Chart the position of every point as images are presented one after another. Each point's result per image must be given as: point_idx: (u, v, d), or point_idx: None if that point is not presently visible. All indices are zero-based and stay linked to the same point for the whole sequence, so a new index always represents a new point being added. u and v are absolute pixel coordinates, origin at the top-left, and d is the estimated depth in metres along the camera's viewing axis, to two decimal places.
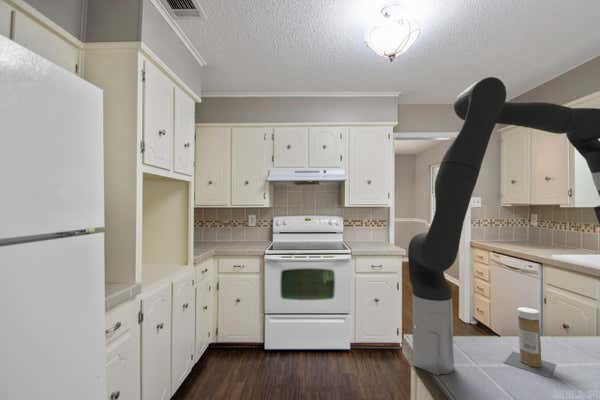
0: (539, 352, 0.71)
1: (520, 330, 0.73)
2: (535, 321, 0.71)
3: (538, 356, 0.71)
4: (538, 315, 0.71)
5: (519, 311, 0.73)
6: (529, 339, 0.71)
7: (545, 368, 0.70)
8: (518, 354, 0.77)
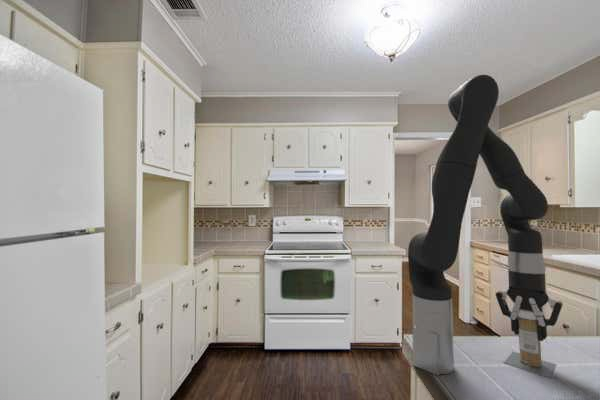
0: (539, 352, 0.71)
1: (520, 330, 0.73)
2: (534, 321, 0.71)
3: (538, 355, 0.71)
4: None
5: (518, 311, 0.73)
6: (528, 339, 0.71)
7: (545, 368, 0.70)
8: (518, 354, 0.77)
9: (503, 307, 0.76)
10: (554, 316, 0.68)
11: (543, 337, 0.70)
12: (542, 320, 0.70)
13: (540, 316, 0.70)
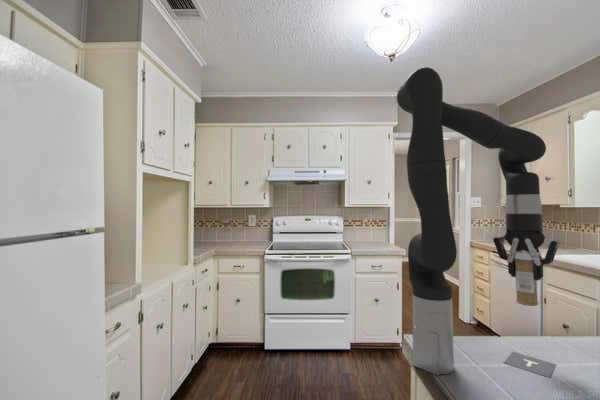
0: (535, 292, 0.72)
1: (516, 272, 0.74)
2: (531, 261, 0.72)
3: (533, 295, 0.72)
4: None
5: (515, 253, 0.75)
6: (524, 279, 0.72)
7: (545, 368, 0.70)
8: (518, 354, 0.77)
9: (500, 251, 0.77)
10: (549, 254, 0.69)
11: (539, 276, 0.71)
12: (538, 259, 0.71)
13: (536, 256, 0.71)
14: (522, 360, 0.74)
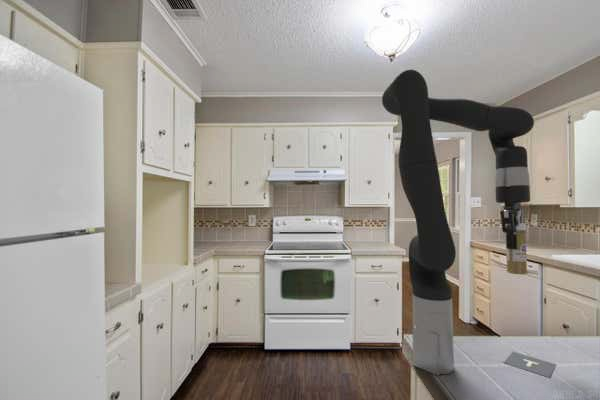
0: (511, 260, 0.75)
1: None
2: None
3: (509, 263, 0.76)
4: (510, 226, 0.76)
5: None
6: (506, 248, 0.78)
7: (545, 368, 0.70)
8: (518, 354, 0.77)
9: None
10: None
11: None
12: None
13: None
14: (522, 360, 0.74)
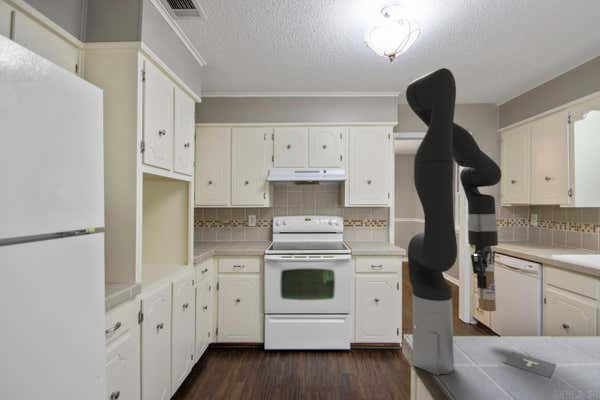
0: (481, 298, 0.84)
1: None
2: None
3: (480, 300, 0.84)
4: None
5: None
6: None
7: (545, 368, 0.70)
8: (518, 354, 0.77)
9: None
10: None
11: None
12: None
13: (475, 266, 0.84)
14: (522, 360, 0.74)
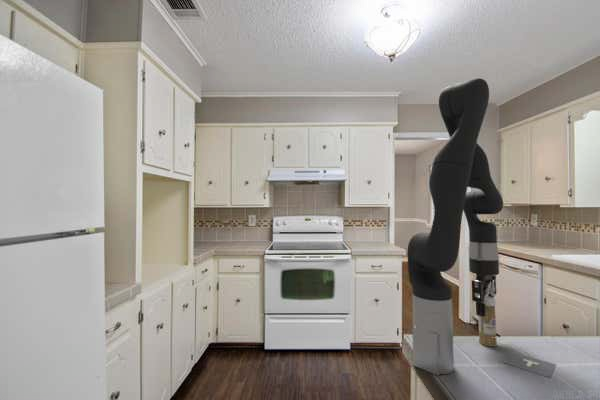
0: (482, 332, 0.83)
1: None
2: None
3: (481, 334, 0.84)
4: None
5: None
6: (478, 319, 0.86)
7: (545, 368, 0.70)
8: (518, 354, 0.77)
9: None
10: None
11: (477, 312, 0.82)
12: None
13: (475, 293, 0.83)
14: (522, 360, 0.74)
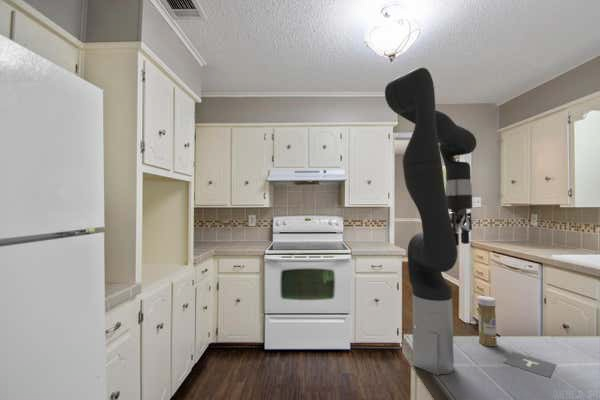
0: (482, 332, 0.83)
1: None
2: (479, 305, 0.85)
3: (481, 334, 0.84)
4: (481, 301, 0.84)
5: None
6: (478, 319, 0.86)
7: (545, 368, 0.70)
8: (518, 354, 0.77)
9: None
10: None
11: None
12: None
13: None
14: (522, 360, 0.74)
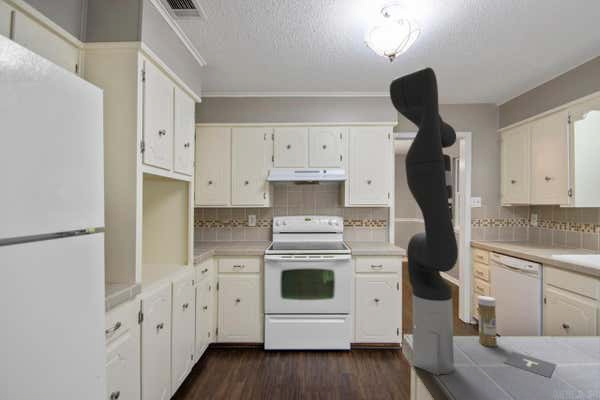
0: (482, 332, 0.83)
1: None
2: (479, 305, 0.84)
3: (481, 334, 0.84)
4: (481, 301, 0.84)
5: None
6: None
7: (545, 368, 0.70)
8: (518, 354, 0.77)
9: None
10: None
11: None
12: None
13: None
14: (522, 360, 0.74)
